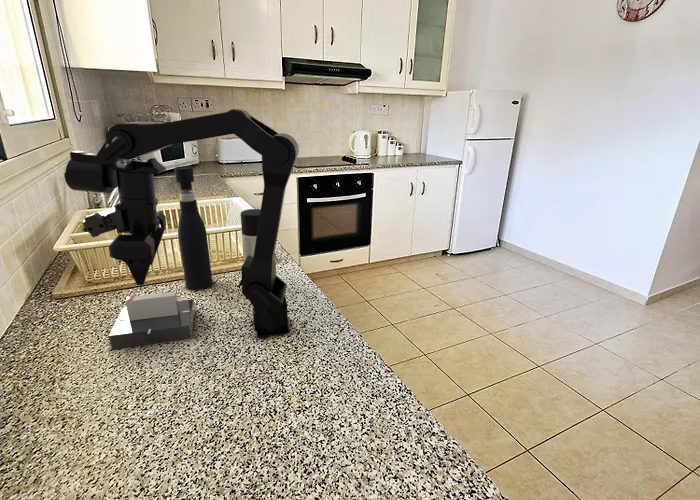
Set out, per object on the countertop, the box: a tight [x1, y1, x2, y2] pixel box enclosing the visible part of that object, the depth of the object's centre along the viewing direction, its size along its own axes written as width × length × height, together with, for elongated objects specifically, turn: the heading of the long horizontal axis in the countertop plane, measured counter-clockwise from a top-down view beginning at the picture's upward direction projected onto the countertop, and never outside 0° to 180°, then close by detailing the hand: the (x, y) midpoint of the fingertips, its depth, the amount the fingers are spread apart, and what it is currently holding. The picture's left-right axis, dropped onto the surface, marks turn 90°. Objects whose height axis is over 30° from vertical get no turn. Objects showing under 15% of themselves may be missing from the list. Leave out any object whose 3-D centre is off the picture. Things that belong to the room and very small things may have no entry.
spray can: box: [240, 208, 261, 261], centre depth 92 cm, size 7×7×20 cm
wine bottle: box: [173, 165, 214, 291], centre depth 91 cm, size 6×6×30 cm
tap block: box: [108, 298, 196, 350], centre depth 77 cm, size 14×13×3 cm
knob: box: [124, 291, 179, 321], centre depth 76 cm, size 9×2×5 cm, turn 107°
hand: (145, 274), depth 73 cm, fingers open, 9 cm apart
